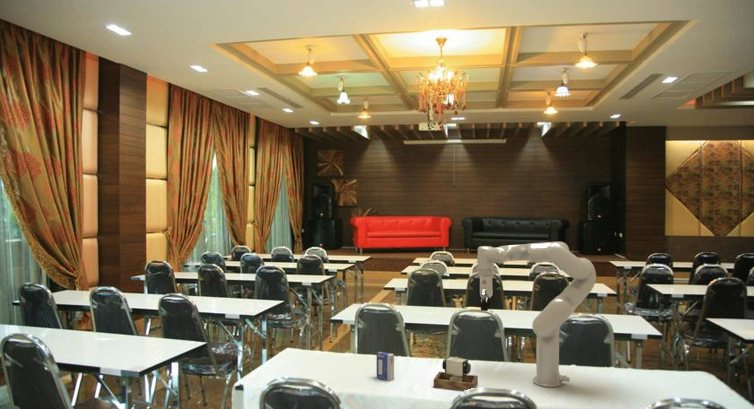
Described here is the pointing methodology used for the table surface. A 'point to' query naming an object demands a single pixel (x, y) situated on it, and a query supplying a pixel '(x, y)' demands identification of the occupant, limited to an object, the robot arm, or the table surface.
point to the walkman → (385, 366)
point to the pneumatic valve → (456, 368)
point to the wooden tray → (455, 382)
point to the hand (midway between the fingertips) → (485, 308)
